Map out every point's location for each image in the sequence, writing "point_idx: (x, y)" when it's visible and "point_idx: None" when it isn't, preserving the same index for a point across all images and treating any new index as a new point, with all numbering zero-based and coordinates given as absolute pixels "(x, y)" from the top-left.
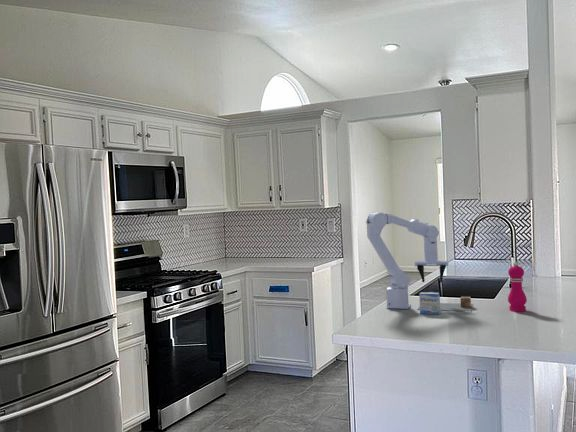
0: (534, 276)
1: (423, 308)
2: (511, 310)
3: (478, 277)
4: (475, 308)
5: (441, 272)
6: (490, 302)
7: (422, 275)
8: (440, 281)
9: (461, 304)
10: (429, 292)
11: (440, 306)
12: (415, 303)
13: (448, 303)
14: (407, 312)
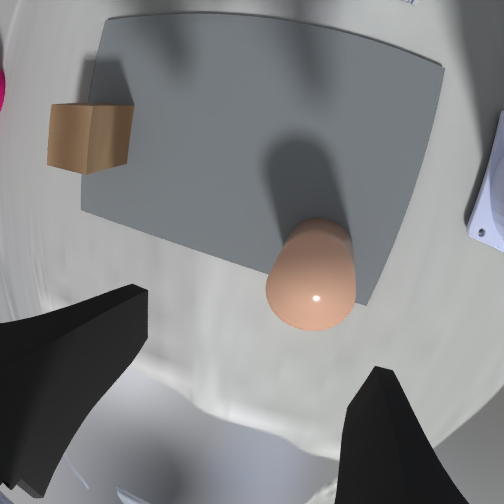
0: None
1: None
2: (2, 76)
3: (138, 501)
4: None
5: (11, 339)
6: (38, 246)
7: (408, 448)
8: (136, 291)
9: (118, 105)
10: (307, 316)
11: (257, 142)
12: (406, 309)
13: (192, 243)
14: (499, 23)
